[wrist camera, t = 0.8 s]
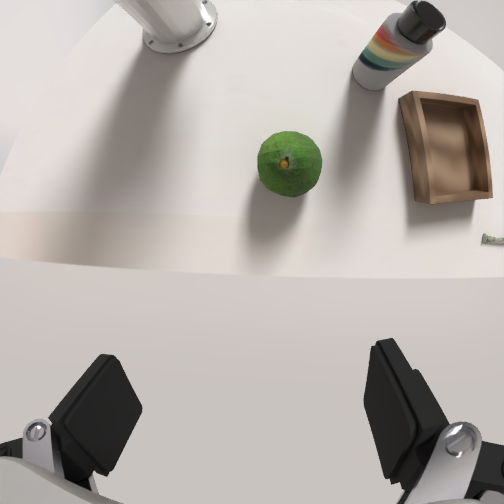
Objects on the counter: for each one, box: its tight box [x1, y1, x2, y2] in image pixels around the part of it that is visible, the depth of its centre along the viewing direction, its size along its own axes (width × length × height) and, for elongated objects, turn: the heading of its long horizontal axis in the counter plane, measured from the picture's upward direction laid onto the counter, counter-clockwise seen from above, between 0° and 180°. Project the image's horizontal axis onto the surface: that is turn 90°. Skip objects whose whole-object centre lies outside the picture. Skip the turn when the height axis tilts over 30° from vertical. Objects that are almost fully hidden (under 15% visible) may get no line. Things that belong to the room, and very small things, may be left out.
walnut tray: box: [399, 91, 493, 204], centre depth 30 cm, size 16×14×5 cm
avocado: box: [258, 131, 322, 197], centre depth 30 cm, size 8×8×12 cm
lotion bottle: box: [353, 1, 446, 90], centre depth 21 cm, size 6×6×20 cm
